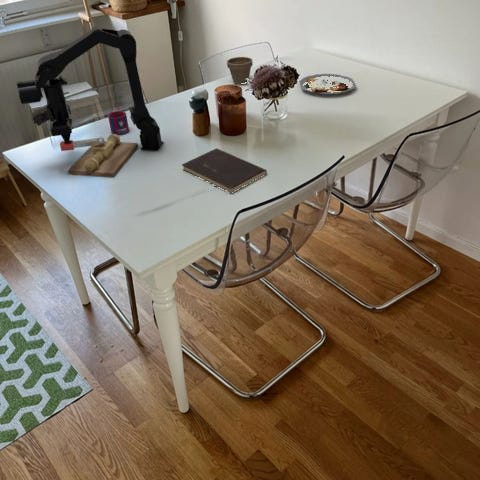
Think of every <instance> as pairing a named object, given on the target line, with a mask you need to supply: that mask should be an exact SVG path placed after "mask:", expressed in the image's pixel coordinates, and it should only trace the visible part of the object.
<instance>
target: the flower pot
mask: <svg viewBox="0 0 480 480" xmlns="http://www.w3.org/2000/svg"><path fill="white" fill-rule="evenodd" d="M253 65H254V64H253V59H252V57H248V56H247V57H246V56H236V57H232V58H230V59H227V60H226V66H227V68H228V69H229V71H230V76H231V80H232V82H233V84H234V83H236V84H241V83H245V82H247V80H245V78H249V79H250V74H251V68H252V66H253ZM236 84H235V85H236Z"/></svg>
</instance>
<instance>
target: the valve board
mask: <svg viewBox="0 0 480 480" xmlns="http://www.w3.org/2000/svg"><path fill="white" fill-rule="evenodd" d="M104 141H105V144H103V145H94V146H89V148H88V149H86V150H85V152H84V153H83V154H82V155H81V156H80V157H79V158H78V159H77V160H76V161H75V162H74V163H73V164H72V166H71V167H69V168H68V169H67V173H68V175H74V176H87V177H88V176H89V177H90V176H91V177H105V178H115V176H117V174H118V173H119V172H120V170H121V169H122V168H123V166H124V165H126V164H127V162H128V161H129V159H130V158H131V157H132V155H133V154H134V153H135V152H136V151H137V149H138V148H139V144H138V142H124V141H123V142H121V137H120V135H116V134H112V133H111V134H110V135H108V137H107V140H104Z"/></svg>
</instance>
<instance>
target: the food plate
mask: <svg viewBox="0 0 480 480" xmlns="http://www.w3.org/2000/svg"><path fill="white" fill-rule="evenodd" d="M321 76H328V77H330V76H333V77H334V76H335V77H341V78H344V79H348V80H349V82H350V81H351V82H352V83H353V84H352V85H353V86H352V87H351V88H348V86H346V84H344V83H340V82H339V83H338V84H339V85H337V86H338V87H339V88H337V86H333V87H336V88H333V87H330V89H325V87H322V88H320V87H315V88H314V87H309V85H308V83H309V84H310V85H311V82H310V81H312V82H314V81H316V80H318V79H314V78H316V77H321ZM327 81H328V80H327ZM305 82H308V83H307V84H306V85H304V86H303V84H304V83H305ZM330 84H331V83H330ZM333 84H335V81H334V82H332V85H333ZM299 85H300V89H301V90H302V91H304V92H308V93H310V94H317V95H338V94H339V95H340V94H343V93H349V92H351V91H353V90H354V89H356V88H357V87H356V86H357V85H356V83H355V81H354V79H353V78H352V77H349V76H345V75H341V74H337V73H321V74H319V73H317V74H313V75H308V76H307V75H306V76H305V77H302V78H301V79H300V80H299ZM317 85H318V84H317ZM320 85H322V84H320ZM311 86H312V85H311ZM308 88H311V90H312V91H310V90H307V89H308ZM328 90H332V91H341V92H333V93H331V92H327V91H328Z"/></svg>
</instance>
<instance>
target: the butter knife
mask: <svg viewBox="0 0 480 480" xmlns="http://www.w3.org/2000/svg"><path fill="white" fill-rule="evenodd" d="M210 187H211V188H212V187H213V186H210ZM207 188H208V190H209V187H207ZM211 188H210V189H211ZM206 191H207V189H206V188H204V190H203V189H201V190H198V191H196V192H195V193H192V194H190V195H188V196H184V197H182V198H181V200H186V199H188V198H191V197H195V196H198V195H201V194H203V193H202V192H204V193H207V192H208V191H207V192H206Z"/></svg>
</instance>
